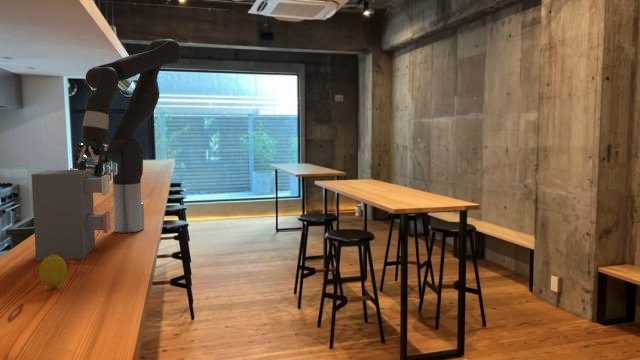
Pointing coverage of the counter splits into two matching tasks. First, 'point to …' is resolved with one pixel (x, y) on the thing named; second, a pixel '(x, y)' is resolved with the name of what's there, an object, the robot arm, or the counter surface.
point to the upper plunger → (97, 185)
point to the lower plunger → (99, 222)
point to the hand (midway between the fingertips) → (89, 175)
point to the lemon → (53, 271)
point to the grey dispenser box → (62, 214)
